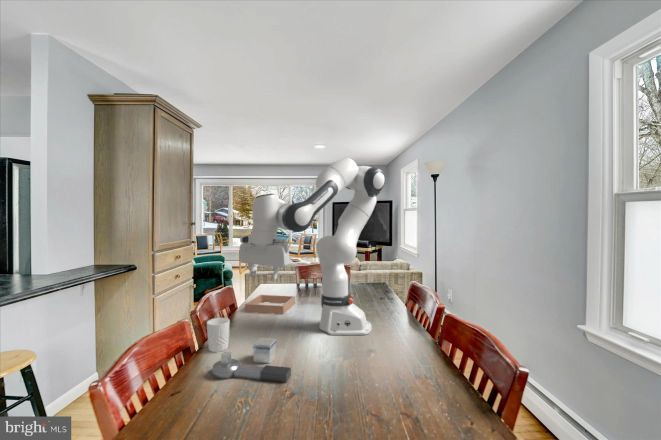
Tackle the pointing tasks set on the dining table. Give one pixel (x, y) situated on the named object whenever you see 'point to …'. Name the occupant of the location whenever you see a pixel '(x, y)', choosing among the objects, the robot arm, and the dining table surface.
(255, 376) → the ratchet
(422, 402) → the dining table surface
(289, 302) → the tray
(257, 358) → the pale grey cube
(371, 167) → the robot arm
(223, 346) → the white cup
